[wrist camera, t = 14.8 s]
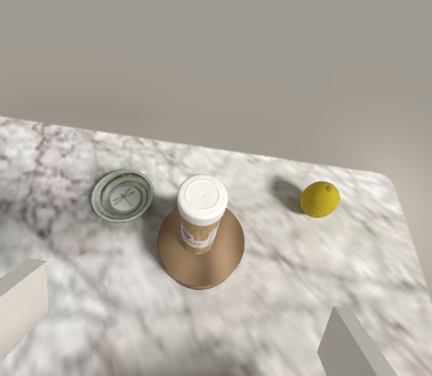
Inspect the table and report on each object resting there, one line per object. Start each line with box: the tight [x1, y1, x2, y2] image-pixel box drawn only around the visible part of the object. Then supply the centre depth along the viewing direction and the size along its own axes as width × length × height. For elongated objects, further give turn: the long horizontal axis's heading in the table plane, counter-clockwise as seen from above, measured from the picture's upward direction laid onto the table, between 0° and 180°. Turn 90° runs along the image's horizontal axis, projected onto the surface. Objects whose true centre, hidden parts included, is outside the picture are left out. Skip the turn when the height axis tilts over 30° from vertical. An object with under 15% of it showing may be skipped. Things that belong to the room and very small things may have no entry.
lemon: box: [300, 181, 340, 218], centre depth 38 cm, size 6×6×8 cm
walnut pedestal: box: [158, 207, 244, 290], centre depth 34 cm, size 12×12×5 cm
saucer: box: [91, 170, 154, 223], centre depth 38 cm, size 10×10×2 cm
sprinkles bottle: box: [177, 174, 228, 255], centre depth 26 cm, size 5×5×14 cm
